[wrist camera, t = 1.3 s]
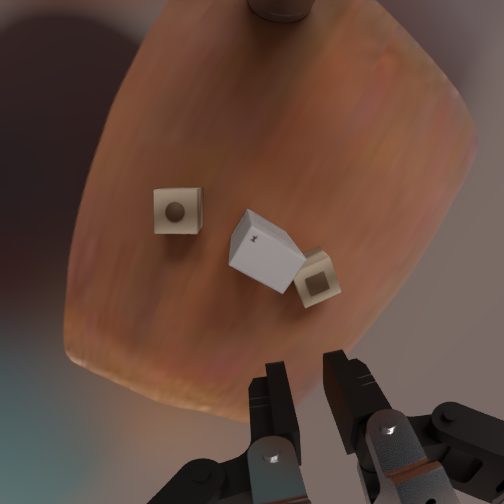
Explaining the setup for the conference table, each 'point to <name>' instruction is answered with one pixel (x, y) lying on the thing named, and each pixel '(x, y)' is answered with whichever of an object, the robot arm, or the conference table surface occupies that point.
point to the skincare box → (264, 252)
